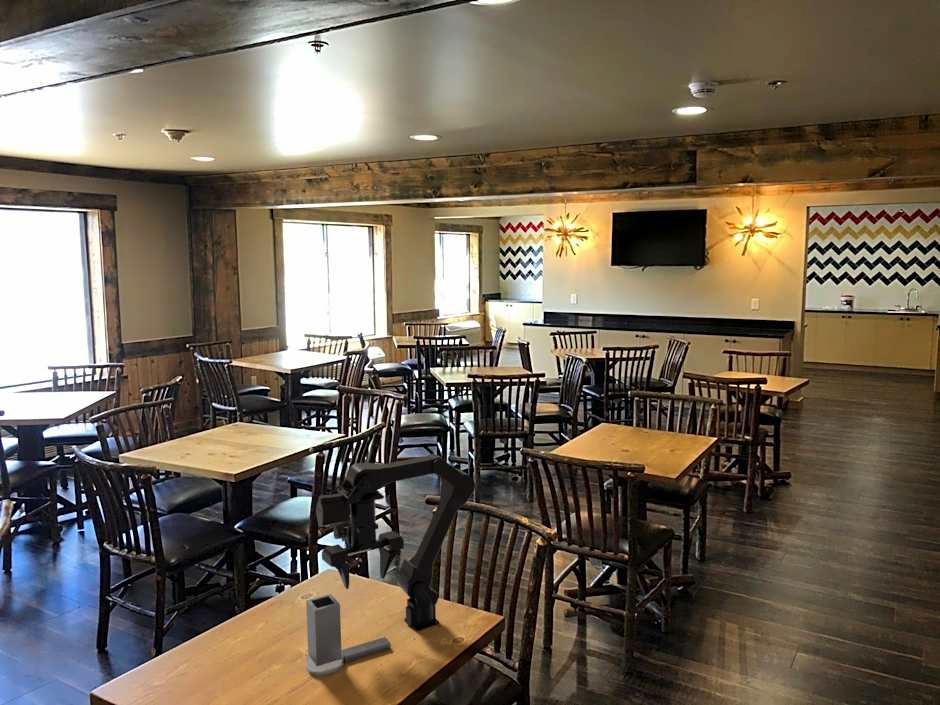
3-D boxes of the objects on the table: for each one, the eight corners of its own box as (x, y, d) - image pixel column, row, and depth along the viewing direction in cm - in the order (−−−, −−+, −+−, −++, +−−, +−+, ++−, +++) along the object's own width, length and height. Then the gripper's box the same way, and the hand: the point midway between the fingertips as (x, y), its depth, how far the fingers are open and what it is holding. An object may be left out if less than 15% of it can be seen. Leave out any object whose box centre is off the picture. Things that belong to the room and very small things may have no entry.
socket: (332, 647, 158) (330, 594, 157) (341, 658, 154) (339, 604, 152) (308, 654, 155) (306, 600, 154) (316, 666, 151) (314, 610, 149)
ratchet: (313, 679, 149) (312, 659, 149) (301, 662, 156) (300, 642, 156) (395, 654, 159) (395, 635, 158) (380, 638, 166) (380, 620, 165)
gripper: (382, 501, 175) (383, 562, 177) (311, 517, 165) (313, 581, 167) (404, 514, 166) (406, 577, 168) (331, 531, 156) (333, 599, 158)
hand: (364, 583), depth 165 cm, fingers open, 9 cm apart
